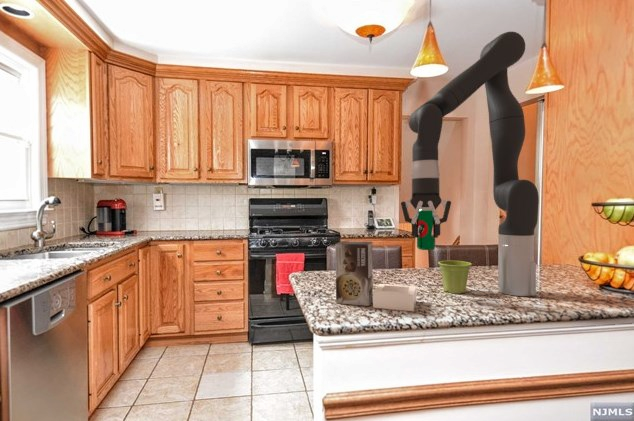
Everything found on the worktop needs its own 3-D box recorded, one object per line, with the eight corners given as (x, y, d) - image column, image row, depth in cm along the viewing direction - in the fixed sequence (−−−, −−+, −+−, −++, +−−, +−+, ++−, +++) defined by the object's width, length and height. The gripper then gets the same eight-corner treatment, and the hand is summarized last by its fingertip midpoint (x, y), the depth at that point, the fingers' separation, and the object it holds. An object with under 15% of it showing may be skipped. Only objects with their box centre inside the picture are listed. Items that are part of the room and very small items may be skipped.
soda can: (436, 250, 100) (436, 206, 99) (417, 250, 101) (417, 207, 100) (434, 248, 105) (433, 206, 104) (416, 248, 106) (415, 207, 105)
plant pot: (438, 294, 106) (438, 264, 105) (437, 287, 115) (437, 259, 114) (473, 296, 103) (473, 266, 103) (469, 289, 112) (469, 261, 112)
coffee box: (373, 300, 99) (373, 241, 98) (369, 306, 93) (369, 243, 92) (341, 297, 102) (341, 240, 101) (334, 303, 96) (334, 242, 95)
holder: (416, 301, 98) (416, 286, 98) (413, 311, 88) (413, 295, 88) (379, 297, 101) (379, 283, 101) (372, 307, 92) (372, 291, 92)
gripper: (452, 177, 103) (452, 236, 104) (401, 179, 108) (401, 235, 109) (452, 175, 96) (453, 239, 97) (398, 177, 101) (398, 238, 101)
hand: (425, 237), depth 103 cm, fingers closed on soda can, 5 cm apart
